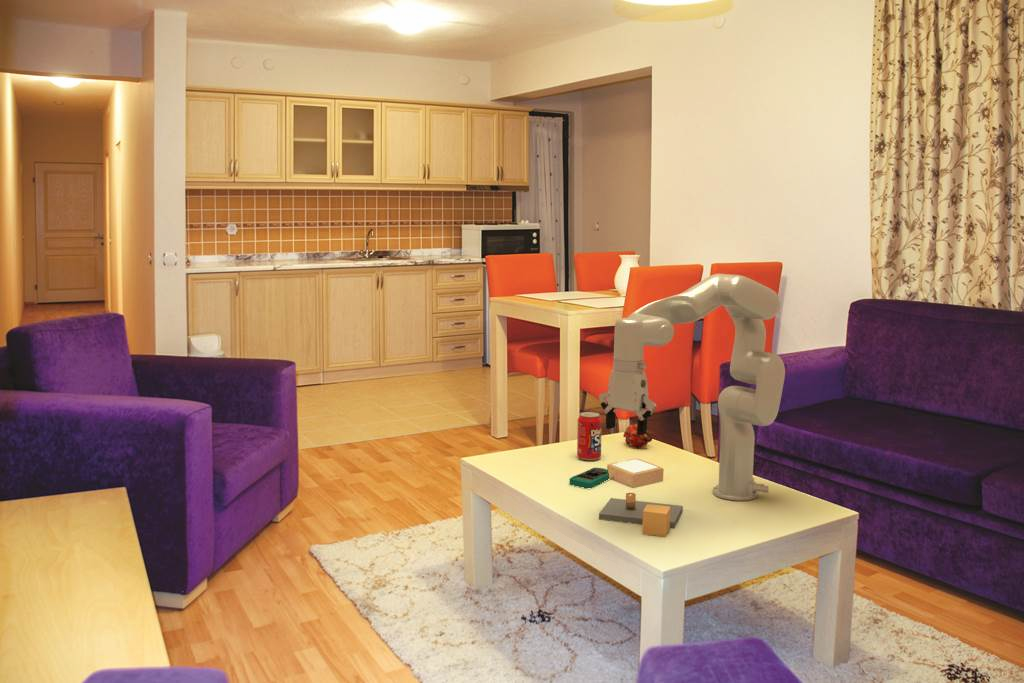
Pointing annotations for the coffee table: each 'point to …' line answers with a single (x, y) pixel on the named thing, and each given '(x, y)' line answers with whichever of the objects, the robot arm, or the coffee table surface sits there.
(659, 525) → the orange cube
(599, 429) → the soda can
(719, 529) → the coffee table surface
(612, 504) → the grey oblong slab
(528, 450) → the coffee table surface
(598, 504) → the coffee table surface
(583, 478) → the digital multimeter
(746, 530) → the coffee table surface
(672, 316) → the robot arm
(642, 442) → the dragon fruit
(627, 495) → the pin
